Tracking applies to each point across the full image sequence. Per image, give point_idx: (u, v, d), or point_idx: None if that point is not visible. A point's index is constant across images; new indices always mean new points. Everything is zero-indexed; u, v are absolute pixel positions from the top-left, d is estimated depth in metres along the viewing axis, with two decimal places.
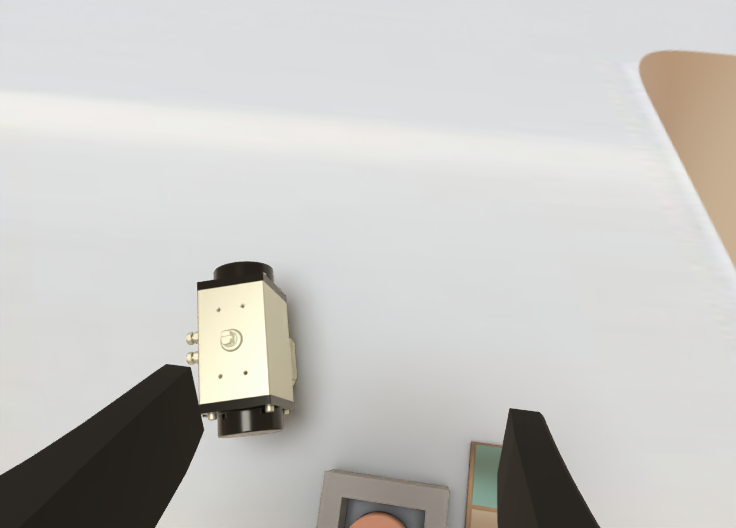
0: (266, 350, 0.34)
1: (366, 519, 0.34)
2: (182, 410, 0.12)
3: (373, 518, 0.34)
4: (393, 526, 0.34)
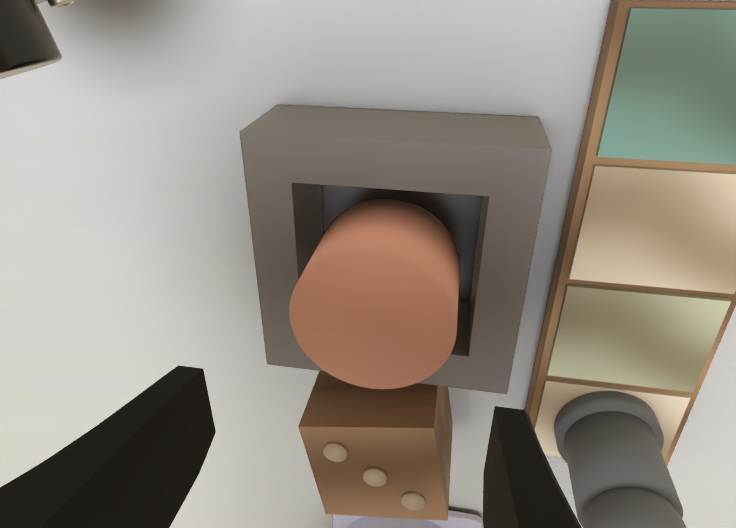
0: None
1: (343, 253, 0.14)
2: (194, 412, 0.12)
3: (359, 250, 0.14)
4: (410, 264, 0.14)
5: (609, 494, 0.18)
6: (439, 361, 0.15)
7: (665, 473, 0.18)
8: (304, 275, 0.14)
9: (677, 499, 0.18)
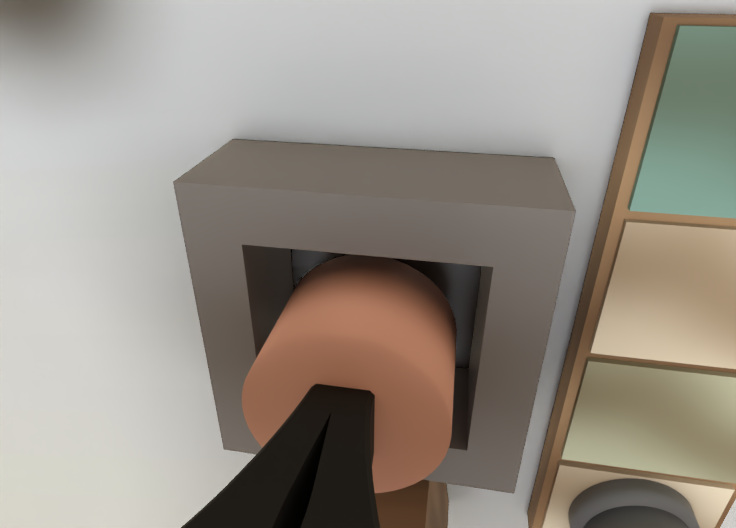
0: None
1: (305, 338, 0.11)
2: None
3: (326, 335, 0.11)
4: (391, 354, 0.11)
5: None
6: (430, 466, 0.12)
7: None
8: (258, 362, 0.11)
9: None
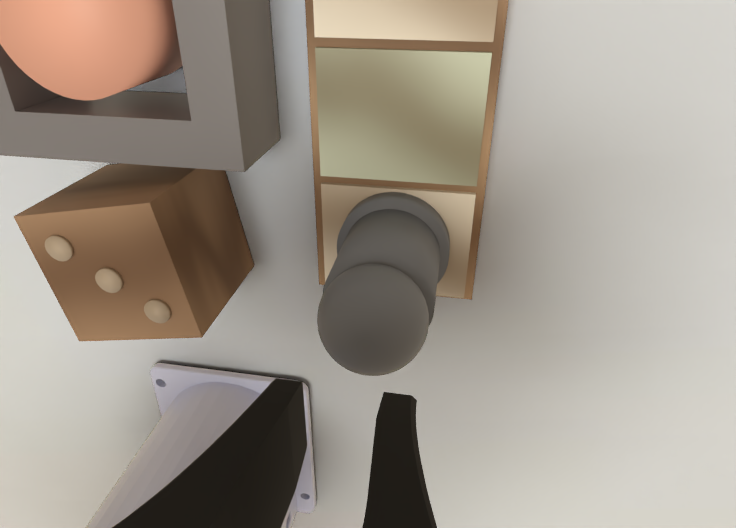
0: None
1: None
2: (296, 426, 0.11)
3: None
4: None
5: (343, 271, 0.15)
6: (136, 52, 0.14)
7: (419, 255, 0.16)
8: None
9: (422, 277, 0.15)
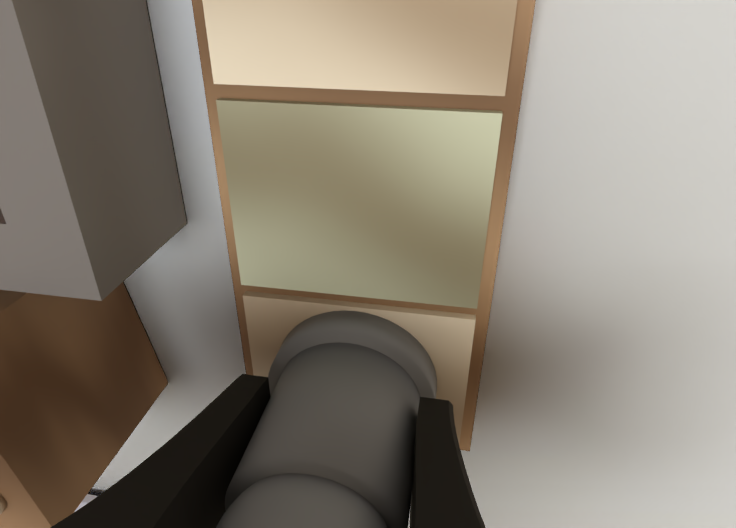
0: None
1: None
2: None
3: None
4: None
5: (251, 487, 0.09)
6: None
7: (381, 447, 0.10)
8: None
9: (385, 497, 0.09)
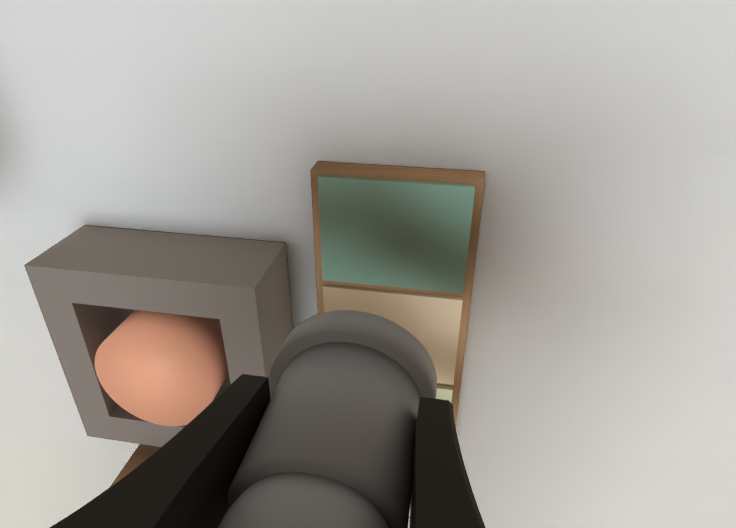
0: None
1: (121, 333, 0.20)
2: None
3: (132, 331, 0.20)
4: (166, 342, 0.20)
5: (253, 486, 0.09)
6: (203, 407, 0.21)
7: (381, 446, 0.10)
8: (99, 347, 0.20)
9: (385, 495, 0.09)
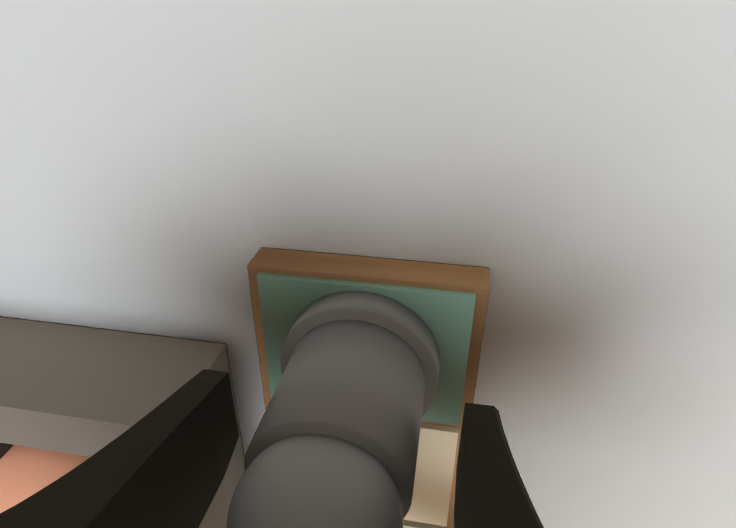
0: None
1: None
2: (221, 416, 0.11)
3: (11, 475, 0.15)
4: None
5: (270, 446, 0.10)
6: None
7: (389, 412, 0.10)
8: None
9: (393, 455, 0.10)
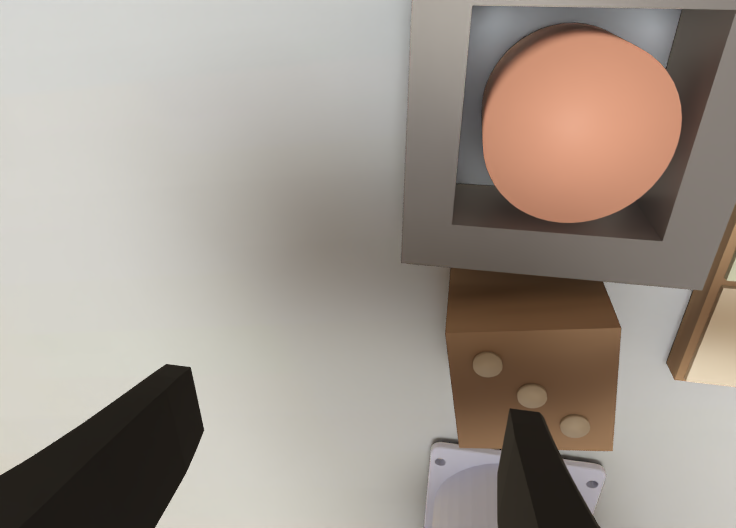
0: None
1: (562, 45, 0.13)
2: (182, 410, 0.12)
3: (582, 40, 0.13)
4: (641, 54, 0.12)
5: None
6: (650, 181, 0.14)
7: None
8: (511, 77, 0.13)
9: None
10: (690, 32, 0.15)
